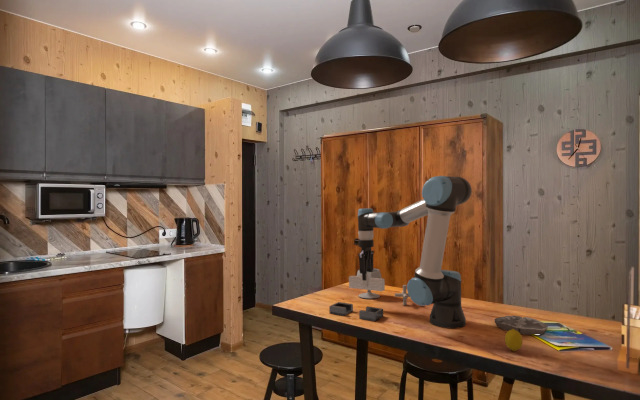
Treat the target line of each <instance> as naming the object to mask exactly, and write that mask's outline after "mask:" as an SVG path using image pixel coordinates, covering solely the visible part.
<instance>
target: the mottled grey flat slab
mask: <svg viewBox="0 0 640 400" xmlns="http://www.w3.org/2000/svg"><path fill="white" fill-rule="evenodd" d="M494 323H495V325H496V326H497V328H499V329H500V330H502V329H503V330H504V331H506V330H507V331H509V330H512V329H515V330H516V331H518V332H519V333H520V334H521V335H524V336H526V335H527V336H532V335H531V334H542V335H544V333H545V332H547V329H548V327H549V325H548V324H546V323H544V322H542V321H541V320H538V319H536V318H532V317H527V316H524V317H522V316H519V315H505V316H499V317H495V318H494ZM503 330H502V331H503ZM507 331H506V332H507Z"/></svg>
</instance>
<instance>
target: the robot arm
mask: <svg viewBox="0 0 640 400" xmlns="http://www.w3.org/2000/svg"><path fill="white" fill-rule="evenodd" d="M472 192H473V191H472V185H471V183H470V182H469V181H468V180H467V179H466V178H464V177H461V176H448V175H447V176H446V175H437V176H436V175H435V176H433V177H429V179H427V180H426V181H425V183H424V184H423V186H422V191H421V196H422V198H423V199H420V200H419V201H416V202H414V203H412V204H410V205H408V206H405V207H404V208H401V209H399V210H396V211H389V212H388V211H387V212H386V211H385V212H382V211H381V212H374V210H373V208H369V207H368V208H365V207H364V208H358V210H357V222H358V223H357V226H358V227H357V228H358V229H357V231H358V232H357V234H358V247H359V248H360V249H361V250H360V252H359V253H358V254H357V255H358V263H359V264H358V265H359V267H358V268H359V269H360V273H361V274H362V287H368V277H371V272H373V268H374V255H375V254H374V253H375V251H374V250H372V248H373V247H375V243H374V228H375V229H390V228H402V227H406V226H409V224H410V223H411V222H415V221H416V220H419V219H421V218H424V217H426V216H427V218H426V219H427V220H426V225H425V232H424V238H423V245H422V250H421V256H420V264H419V266H418V267H417V268H416V269H415V271H414V275H413V276H414V277H411V279H409V280H408V282H407V284H406V292H407V293H408V294H409V296H410V297H409V298H410V300H411V301H412V302H413V303H414V304H415V305H417V306H420V307H424V306H430V305H432V308H431V311H430V314H429V323H431V324H432V326H433V325H434V326H436V327H440V328H447V329H458V328H463V327H465V326H466V325H467V324H466V322H467V319H466V315H465V313H464V310H463V307H462V276H461V273H460V272H459V271H456V270H449V269H442V266H443V261H444V255H445V249H446V243H447V239H448V238H447V237H448V231H449V228H450V227H449V226H450V220H451V216H452V215H453V214H454V213H456V209H457V206H460V205H463V204H465V203H467V202H468V200H470V198H471V196H472Z"/></svg>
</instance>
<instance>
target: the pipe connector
mask: <svg viewBox="0 0 640 400" xmlns="http://www.w3.org/2000/svg"><path fill="white" fill-rule="evenodd" d="M394 297H395V298H399V297H400V298H402V305H403V306H407V305H408V303H407V301H408V298H410V296H409V294H408V292H407V284H403V285H402V291H401V293H400V292H398V293H397V292H395V293H394Z"/></svg>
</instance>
